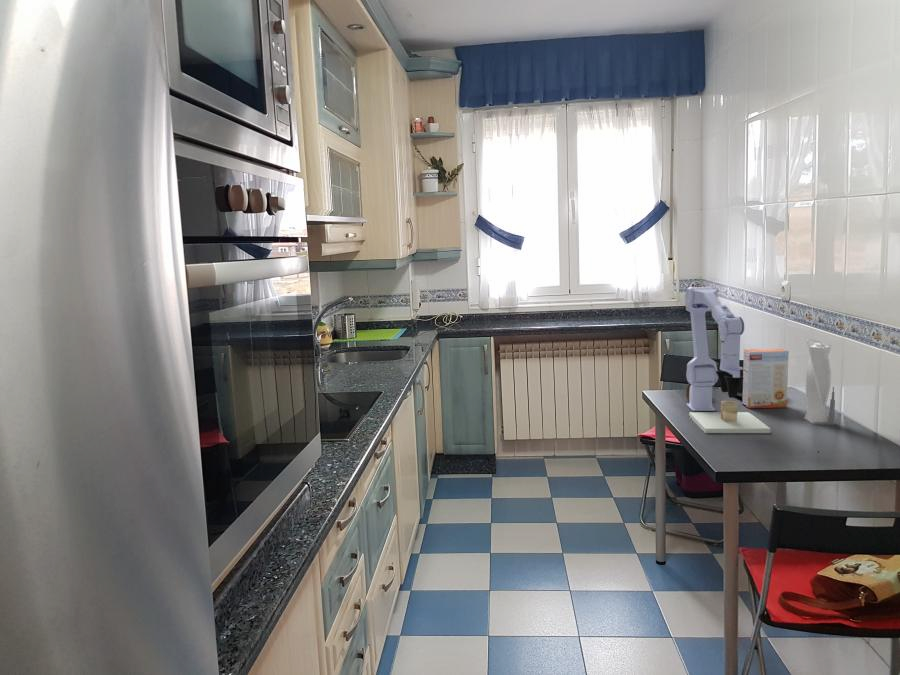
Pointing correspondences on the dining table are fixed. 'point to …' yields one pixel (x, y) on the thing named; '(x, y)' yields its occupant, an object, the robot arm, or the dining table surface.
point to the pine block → (729, 411)
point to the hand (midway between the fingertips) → (728, 394)
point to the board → (728, 423)
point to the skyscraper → (818, 385)
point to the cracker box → (765, 378)
